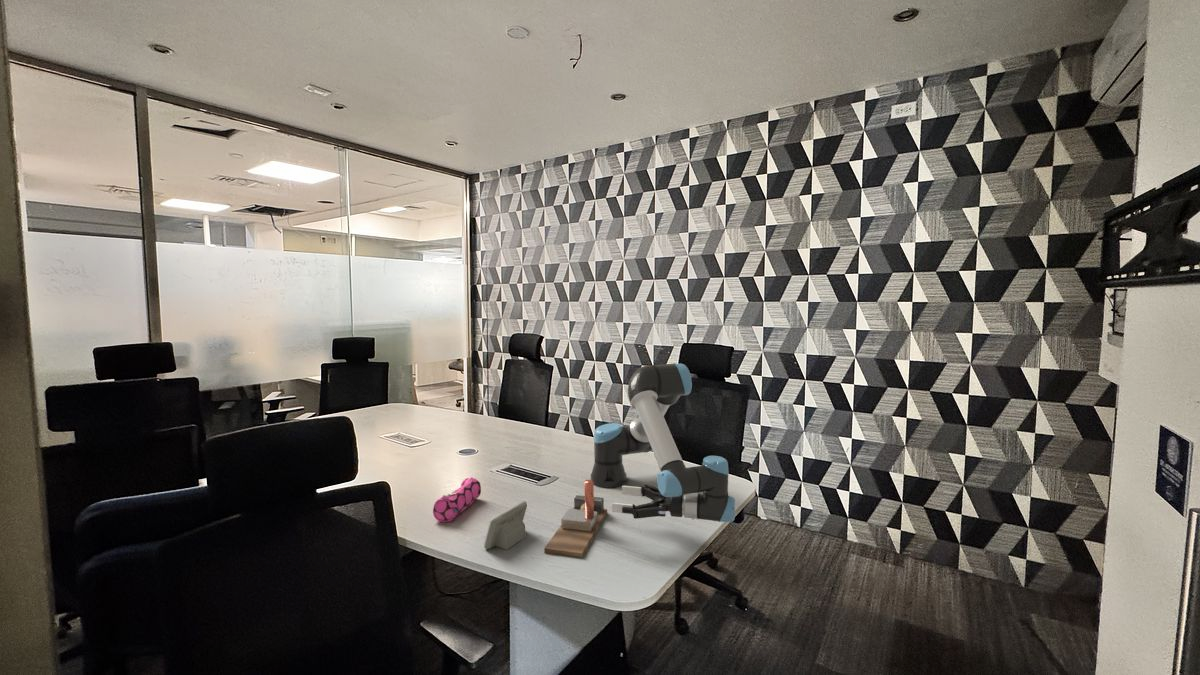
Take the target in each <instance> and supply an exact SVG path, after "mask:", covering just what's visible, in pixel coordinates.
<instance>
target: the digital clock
mask: <svg viewBox="0 0 1200 675" xmlns="http://www.w3.org/2000/svg"><path fill="white" fill-rule="evenodd" d="M527 507H528V503H527V502H526V500H525V501H520V502H517V503H516V504H514V505H513V506H511V507H509V508H507V509H505V510H504V511H502V512H501V513H498V514H497V515H495V516H493V517H492V518H491V519H490V521H489V524H488V527H487V531H486V535H485V538H484V542H483V543H484V544H483V545H484V546H483V547H484V549H486V550H491V549H492V548H494V547H497V546H498V547H497V548H500V547H501V548H500V549H503V548H504V550H506V549H507V550H509V549H510V548H512V547H513V546H514V545H516V544H518V543H519V542H520V540H521V541H522V540H523V539H525V538H526V537H527V536H526V524H525V522H524V519H525V518H524V517H525V516H526V512H527ZM517 542H518V543H517Z"/></svg>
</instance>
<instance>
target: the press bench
mask: <svg viewBox="0 0 1200 675" xmlns="http://www.w3.org/2000/svg"><path fill="white" fill-rule="evenodd" d="M573 500H574V503H573V505H574V506H573V508H572V509H577V510H585V495H581V494H580V495H579V494H576V496H575V497H574V498H573ZM604 500H605V499H604V497H599V496H594V511H596V512H597V522H596V523H595V525H594V527H593V529H592V530H591V532H590V531H582V530H573V529H565V528H561V525H560V526H559V528H558V529H557V530H556V531H555V533H554V534H553V535H552V537H551V538H550V540H549V541H548V543H547V544H546V546H545V547H544V548H543V549H544V554H550V555H557V556H558V555H559V556H564V557H571V558H578V559H583V557H584V556H585V554H586V552H587V550H588V548H589V547H590V545H591V543H592V542H593V540H594V538H595V537H596V536H595V535H596V534H597V532H598V531H599V529H600V527H601V525H602V523H603V522H604V520H605V518H606V516H607V515H608V508H605V506H604V505H605V502H604Z"/></svg>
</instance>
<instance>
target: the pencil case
mask: <svg viewBox="0 0 1200 675" xmlns="http://www.w3.org/2000/svg"><path fill="white" fill-rule="evenodd" d="M481 493H482V486H481V482H480V481H479V480H478V479H476V478H474V477H472V476H471V477H467V478H464V479H463V481H461V483H460V487H458V488H456V489H455V490H453V491H452V492H451V493H448V494H447V495H444V494H443V495H442V496H441V497H439V498H438V499H437V500H436V501H435V502H434V504H433V507H432V508H433V509H432V514H433V517H434V518H435V520H436V521H438V522H440V523H450V522H451V521H454V519H455V518H456V517H457V516H458V515H459V514H461V513H462V512H463V511H465V510H466V509H467V508H469V507H470V506H471V505H472V504H473V503H474V502H475V500H477V499H478V498H479V497H480V496H481Z"/></svg>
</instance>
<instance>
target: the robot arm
mask: <svg viewBox="0 0 1200 675" xmlns="http://www.w3.org/2000/svg"><path fill="white" fill-rule="evenodd" d="M692 381H693V380H692V375H691V372H690V370H689V368H688V366H687V365H686V364H683V363H676V362H674V363H666V364H665V363H664V364H654V365H652V364H651V365H650V364H649V365H644V366H641V367H639V368H637V369H636V370H635V371H634V372H633V373H632V375H631V377H630V379H629V381H628V386H627V395H628V397H627V398H628V401H629V403H630V406H631V407H632V408H633V409H635V410H636V412H637V418H634V419H633V420H632V421H631V422H630V424H629V425H627V426H626V425H625V426H622V425H621V424H620V423H617V422H614V423H612V422H610V423H604V424H601V425H599V426H597V427H596V428H595V429H594V432H593V433H594V434H593V435H594V436H593V444H594V447H593V449H594V450H593V453H594V456H593V457H594V464H593V467H592V470H591V474H590V480H593V482H594V486H596V487H599V488H618V487H621V495H628V496H637V497H646V498H648V499H649V500H651V502H647V503H644V504H638V505H635V504H634V503H633V504H629V503H622V502H621V503H619V502H612V503H611V512H612V513H617V514H618V513H621V514H628V515H632V516H633V519H635V520H636V519H646V518H654V517H663V518H664V517H666V515H667V514H666V512H669V513H670V514H669V515H670V516H671V517H676V518H683V516H684V518H686V519H691V520H695V519H696V520H705V521H712V522H719V523H733V522H734V521H735V518H736V515H735V514H736V512H735V510H736V508H735V507H736V499H735V498H734V497H733V496H731V495H729V491H728V490H729V476H730V475H729V474H730V473H729V462H728V460H727V459H726V458H724V457H723V456H719V455H707V456H705V457H704V458H703V459H702V464H701V465H695V466H690V467H689V466H688V467H686V465H685V462H684V460H683V458H682V455H681V454H680V452H679V449H678V447H677V444H676V442H675V439H674V438H673V435H672V433H671V431H670V428H669V426H668V424H667V421H666V419H665V415H666V413H667V411H668V409H669V407H670V406H672V405H674V404H676V403H677V402H678V401H679V399H680V397H682V396H688V395H690V394H691V392H692V390H693V389H692V387H693V382H692ZM649 452H652V453H653V455H654V458H655V460H656V462H657V463H656V464H657V465H658V467H659V468H658V469H659V470H660V472H658V473H657V476H656V483H657V486H652V485H649V484H644V486H642V487H640V486H631V485H625V484H626V483H627V481H628V479H627V478H628V476H627V473H626V471H625V467H624V463H623V456H626V455H632V454H634V455H635V454H641V453H649Z"/></svg>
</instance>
